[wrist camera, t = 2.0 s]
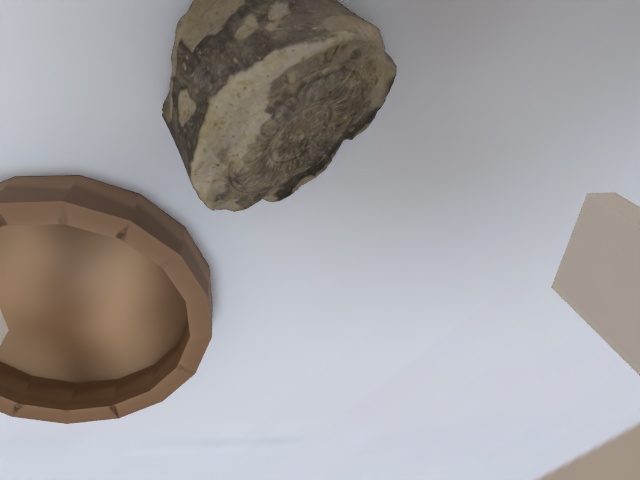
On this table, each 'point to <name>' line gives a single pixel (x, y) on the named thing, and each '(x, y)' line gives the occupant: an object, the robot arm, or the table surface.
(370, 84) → the grey brown rock
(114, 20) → the table surface
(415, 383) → the table surface
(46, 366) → the round tray
